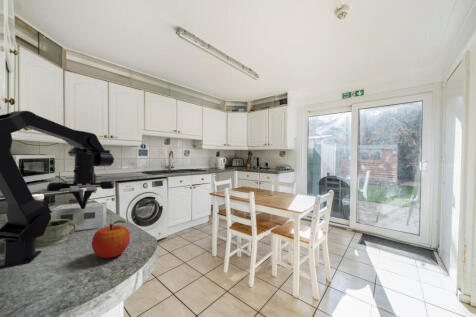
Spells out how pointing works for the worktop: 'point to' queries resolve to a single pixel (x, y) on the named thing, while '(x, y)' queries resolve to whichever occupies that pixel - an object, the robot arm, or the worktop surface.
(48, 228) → the vessel
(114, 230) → the fruit
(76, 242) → the worktop surface
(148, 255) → the worktop surface
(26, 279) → the worktop surface
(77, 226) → the housing
